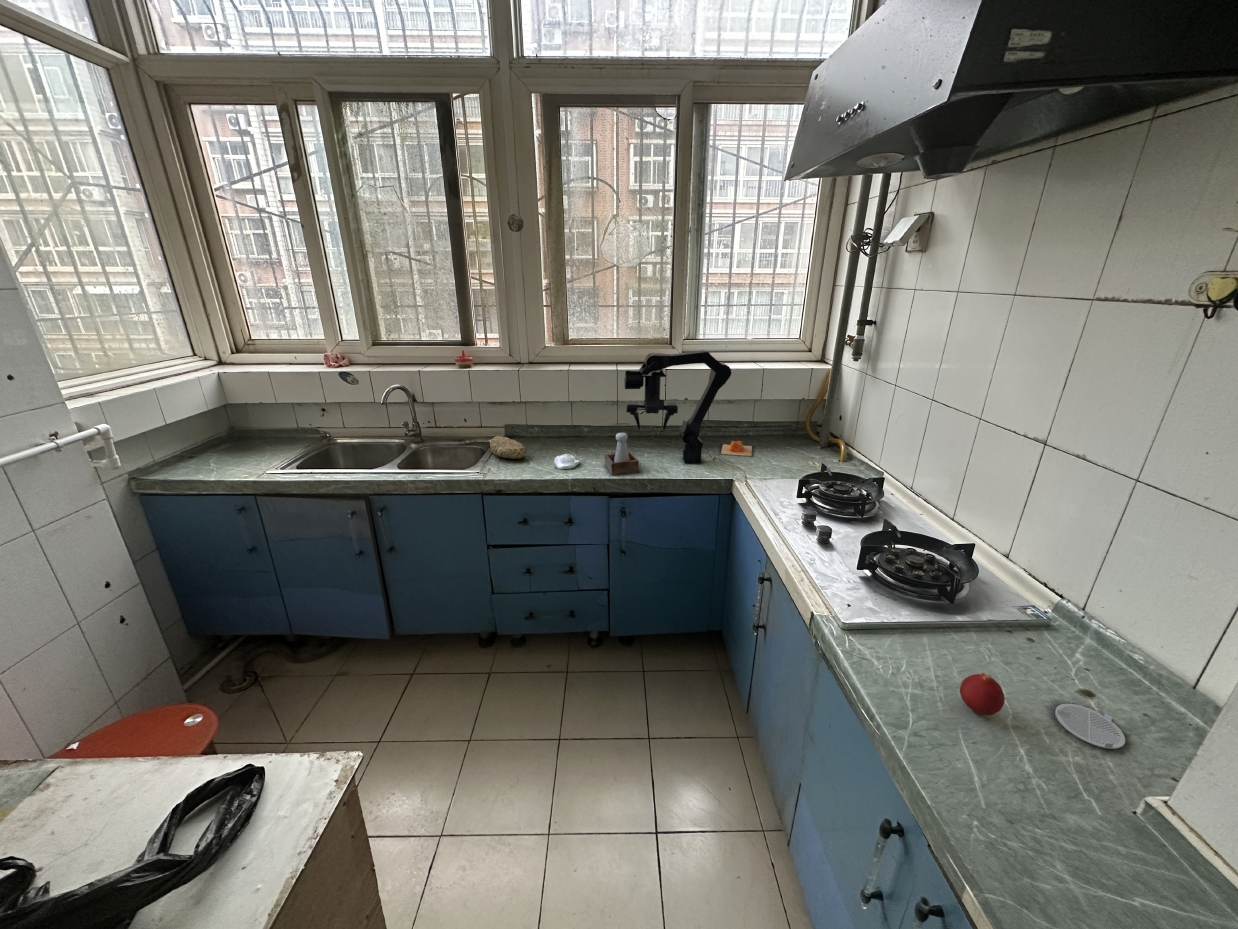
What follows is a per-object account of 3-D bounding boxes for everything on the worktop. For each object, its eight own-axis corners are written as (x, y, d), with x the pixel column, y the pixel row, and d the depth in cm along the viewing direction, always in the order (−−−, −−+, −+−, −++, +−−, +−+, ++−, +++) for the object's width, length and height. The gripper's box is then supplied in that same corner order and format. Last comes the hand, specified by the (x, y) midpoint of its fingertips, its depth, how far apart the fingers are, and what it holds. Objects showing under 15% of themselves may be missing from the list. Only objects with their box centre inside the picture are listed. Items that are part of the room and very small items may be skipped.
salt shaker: (626, 463, 189) (626, 430, 184) (632, 468, 184) (632, 434, 179) (612, 465, 187) (611, 432, 182) (617, 470, 182) (617, 436, 177)
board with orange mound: (752, 446, 208) (752, 436, 206) (751, 456, 196) (752, 446, 195) (722, 444, 210) (723, 434, 209) (720, 453, 199) (721, 443, 198)
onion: (981, 697, 85) (993, 660, 82) (1006, 726, 80) (1020, 687, 77) (947, 698, 85) (958, 661, 82) (971, 727, 79) (983, 688, 77)
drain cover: (1056, 696, 85) (1058, 692, 84) (1123, 723, 80) (1125, 718, 79) (1053, 728, 79) (1055, 723, 79) (1126, 759, 74) (1128, 754, 73)
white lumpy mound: (550, 451, 191) (574, 448, 194) (551, 462, 192) (574, 458, 196) (558, 460, 182) (583, 456, 186) (558, 471, 184) (583, 467, 188)
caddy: (630, 462, 191) (630, 451, 190) (638, 472, 182) (638, 460, 180) (604, 465, 189) (604, 454, 187) (611, 475, 180) (611, 463, 178)
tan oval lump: (488, 453, 207) (492, 459, 188) (489, 434, 206) (493, 438, 187) (520, 455, 211) (527, 461, 192) (521, 436, 210) (528, 441, 192)
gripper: (625, 393, 174) (625, 435, 180) (679, 394, 173) (677, 436, 179) (627, 386, 185) (627, 426, 190) (677, 387, 184) (676, 427, 189)
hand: (651, 429), depth 187 cm, fingers open, 9 cm apart
